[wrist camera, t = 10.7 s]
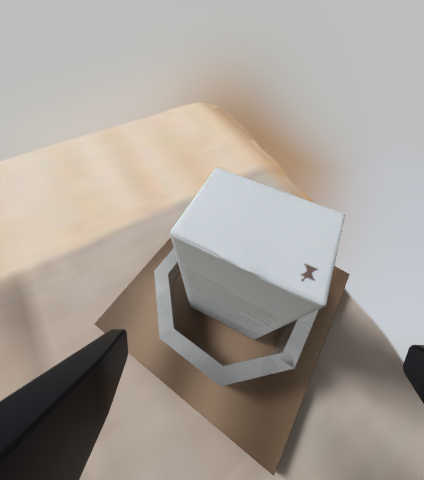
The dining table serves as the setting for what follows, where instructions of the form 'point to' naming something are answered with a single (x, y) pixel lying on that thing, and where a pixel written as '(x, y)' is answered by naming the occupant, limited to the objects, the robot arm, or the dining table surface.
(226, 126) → the dining table surface
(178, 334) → the steel ring
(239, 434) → the walnut board
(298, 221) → the skincare box
